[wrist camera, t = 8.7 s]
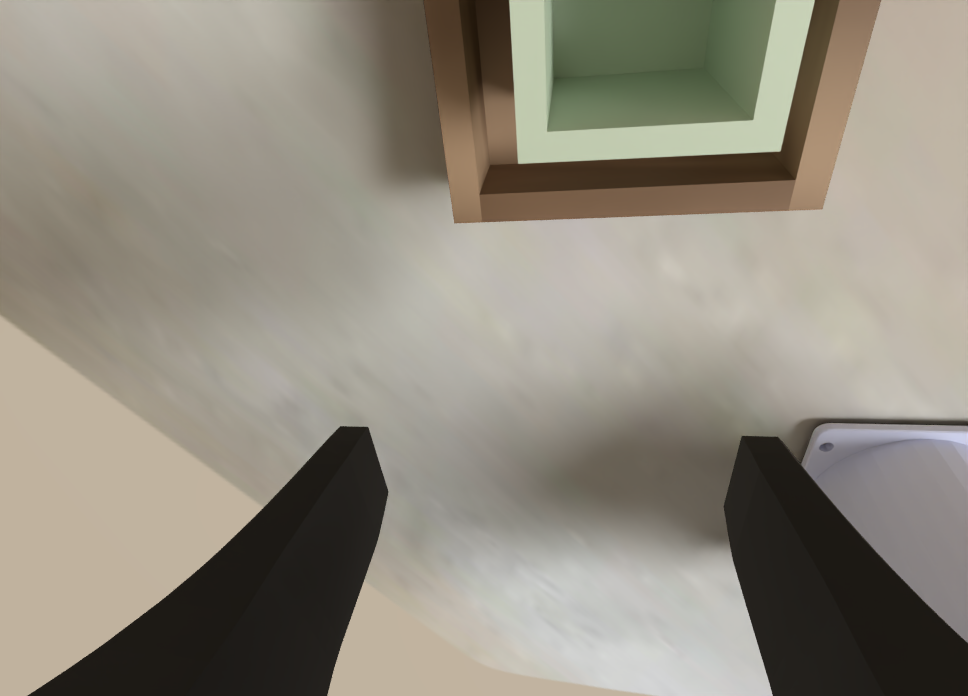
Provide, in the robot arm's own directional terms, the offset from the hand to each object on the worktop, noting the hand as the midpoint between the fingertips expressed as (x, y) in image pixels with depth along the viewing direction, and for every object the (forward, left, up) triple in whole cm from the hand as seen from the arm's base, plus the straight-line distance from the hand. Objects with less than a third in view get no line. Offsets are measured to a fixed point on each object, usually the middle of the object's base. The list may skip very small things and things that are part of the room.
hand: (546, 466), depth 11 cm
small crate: (+7, -2, -9) cm, 12 cm away
